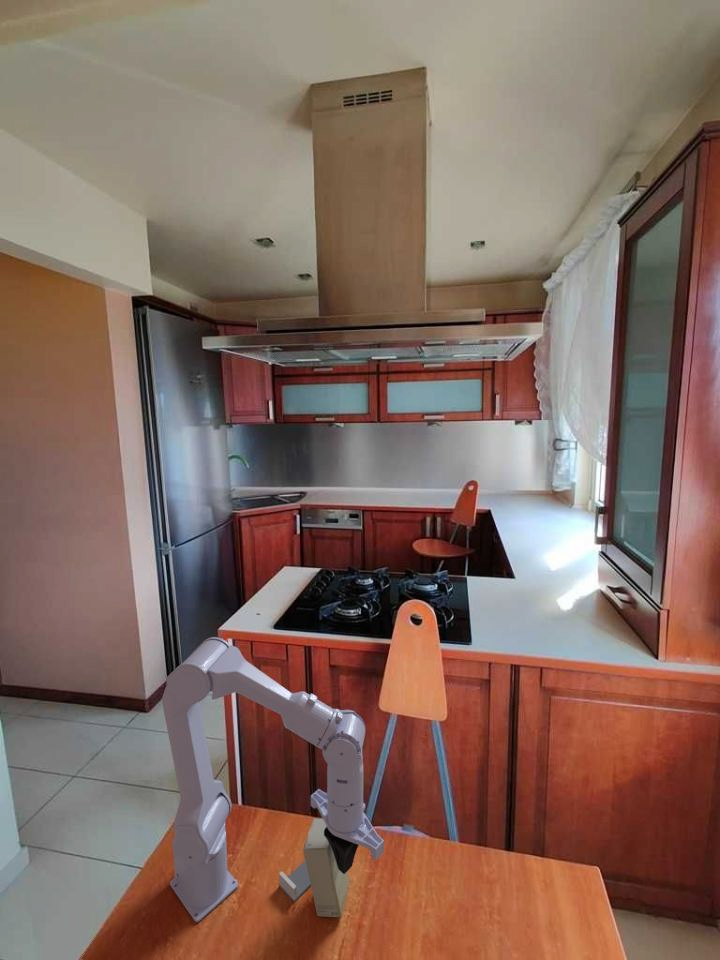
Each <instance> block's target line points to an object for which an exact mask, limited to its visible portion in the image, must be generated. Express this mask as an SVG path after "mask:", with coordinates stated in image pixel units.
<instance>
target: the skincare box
mask: <svg viewBox="0 0 720 960" xmlns="http://www.w3.org/2000/svg"><path fill="white" fill-rule="evenodd" d="M326 827H327V826H326V824H325V822H324V820H323V818H322V817H314V818H313V820H312V823H311V825H310V828H309V830H308V833H307V836H306V839H305V842H304V845H303V848H302V852H303V856H304V861H306V865H307V870H308V874H309V879H310V884H311V886H310V889H311V892H312V897H313V900H314V901H313V902H314V906H315V911H316V915H317V917H322V918H323V917H327V918H342V916H343V912H344V908H345V904H346V900H347V896H348V891H349V887H350V882H351V881H350V876H349V870H348V871H347V872H346V873H345V874H343V873H342V872H341V871H340V870H339V869H338V867H337V863H336V860H335V856H334V853H333V850H332V848H331V846H330V844H329V842H328V840H327V839H326V837H325V836H324V830H325V828H326Z"/></svg>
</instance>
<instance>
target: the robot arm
mask: <svg viewBox="0 0 720 960" xmlns="http://www.w3.org/2000/svg"><path fill="white" fill-rule="evenodd" d="M165 680H166V686H165V689H164V691H163V695H162V697H161V703H162V709H163V712H164V713H163V714H164V719H165V724H166V729H167V735H168V739H169V744H170V749H171V755H172V756H171V757H172V760H173V766H174V770H175V776H176V782H177V785H178V791H179V797H180V801H179V803H178V808H177V811H176V814H175V817H174V821H173V831H174V834H173V839H172V841H171V847H172V851H173V864H174V877H173V878H172V879H171V880H170V881H169V885H170V887H171V888H172V890H173V891H174V894H176V897H178V899H179V900H180V902H181V903H182V905H183V907H185V909H186V910H187V912H188V913H189V916H190V917H192V920H193V921H194V922H195V923H199V922H200V921H201V920H203V919H204V918H205V916H207V915H208V914H209V913H211V912H212V910H214V909H215V908H216V907H217V906H219V905H220V903H222V902H223V901H224V900H225V899H227V897H228V896H230V895H231V894H232V893H233V892H234V891H236V889H238V888H239V882H238V881H237V880H236V879H235V877H234V876H233V875H232V873H231V872H230V871H229V870H228V853H227V832H226V831H227V830H226V826H227V825H226V819H227V818H228V817H229V815H230V813H231V812H232V808H233V806H232V800H231V798H230V796H229V795H228V794H227V792H226V791H225V790H226V789H225V788H224V787H225V786H224V783H223V781H222V780H218V779H214V774H213V767H212V763H211V757H210V752H209V746H208V742H207V741H208V740H207V736H206V735H207V734H206V729H205V726H204V719H203V715H202V708H201V703H200V702H202V701H203V700H205V698H207V696H208V694H209V693H210V692H212V694H211V700H216V699H219V698H223V697H225V696H228V695H231V694H234V693H236V694H239V695H240V696H244V697H245V698H246V699H248V700H251V701H253V702H254V703H257V704H259V705H261V706H263V707H265V708H267V709H268V710H271V711H273V712H274V713H277V714H279V715H280V717H281V720H282V723H283V726H284V728H285V729H287V730H289V731H291V732H292V733H294V734H296V735H297V736H298V737H300V738H302V739H303V740H305V741H307V742H309V743H310V744H311V745H313V746H315V747H316V748H318V749H320V750H322V757H323V759H324V761H325V762H326V764H327V766H326V769H327V771H326V772H327V773H326V776H327V777H326V779H327V780H326V783H327V784H326V785H327V789H326V790H327V791H326V792H325V791H323V790H322V789H320V788H318V789H317V790H315V791H314V792H313V793H312V794H311V795H310V806H311V807H312V808H313V809H317V810H318V811H319V814H320V816H321V818H323V820H324V822H325V824H326V826H327V827H326V828H325V830H324V836H325V837H326V839H327V840H328V842H329V844H330V846H331V848H332V850H333V853H334V856H335V860H336V863H337V867H338V869H339V870H340V871H341V872H342V873H343V874H345V873H346V872H347V871H348V872H349V870H350V869H351V868H352V867H353V863H354V859H355V855H356V853H357V851H358V848H359V846H361V847H364V848H366V849H368V850H369V851H370V857H371V858H372V859H373V860H375V861H377V860H378V859H379V858H380V857H381V856H382V855H383V854H384V852H385V840H384V839H383V838H382V837H381V836H379V834H378V833H377V831H376V830H375V827H373V825H372V823H371V822H370V820H369V818H368V817H367V815H366V813H365V811H366V804H365V803H364V763H363V761H364V758H363V757H364V755H363V746H364V741H365V737H366V724H365V721H364V719H363V718H362V717H361V716H360V715H359V714H357V713H356V711H354V710H352V709H339V708H333V707H331V706H329V705H327V704H326V703H324V702H322V701H321V700H319V699H318V696H317V695H315V694H314V693H310V694H309V693H307V691H303V690H302V691H298V692H294V693H293V692H291V691H289V690H288V689H287V688H285V687H284V686H282V684H280V683H278V682H277V681H276V680H274V679H273V678H271V677H270V676H268V675H267V674H266V673H264V672H263V671H261V670H260V669H259V668H257V667H256V666H255V665H254V664H252V663H250V662H249V661H247V660H246V659H245V657H244V656H243V654H242V652H241V650H240V649H239V648H238V647H237V646H234V645H232V644H231V645H230V643H229V642H228V641H227V640H225V639H224V638H221V637H218V636H212V637H208V638H207V639H206V638H205V640H203V641H202V642H201V643H200V644H199V645H198V646H197V647H196V648H195V649H194V650H192V652H191V653H190V655H189V656H188V657H187V658H186V659H185V660H183V662H182V663H181V664H179V665H178V666H177V667H176V668H175V669H173V671H171V672H170V674H169V675H167V676H166V678H165Z"/></svg>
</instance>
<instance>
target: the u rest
mask: <svg viewBox="0 0 720 960" xmlns="http://www.w3.org/2000/svg"><path fill="white" fill-rule="evenodd" d="M278 884H279V885H278V886H279V888H280V890H282V891H283V892H284V893H285V894H286V895H287V897H288V898H289V899H290V900H291V901H292V902H293V903H296V902H297V901H298V900H299V899H300V897H302V895H303V894H304V893H305V892H306V891H308V889H309V888H311V884H310V879H309V874H308V870H307V865H306V861H305V860H304V861H302V863H300V864H299V865H298V866H297V867H296V868H295V869H294V870H293V871H292V872H291V873H290V874H289V875H288V876H287V875H286V873H284V872H283V871H280V872H279V873H278Z"/></svg>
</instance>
